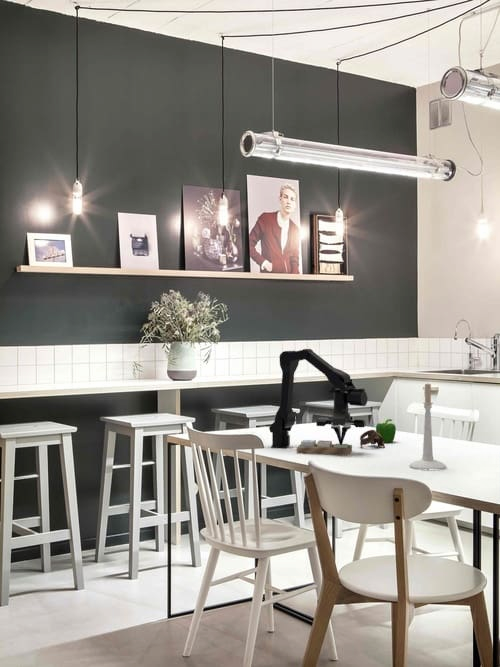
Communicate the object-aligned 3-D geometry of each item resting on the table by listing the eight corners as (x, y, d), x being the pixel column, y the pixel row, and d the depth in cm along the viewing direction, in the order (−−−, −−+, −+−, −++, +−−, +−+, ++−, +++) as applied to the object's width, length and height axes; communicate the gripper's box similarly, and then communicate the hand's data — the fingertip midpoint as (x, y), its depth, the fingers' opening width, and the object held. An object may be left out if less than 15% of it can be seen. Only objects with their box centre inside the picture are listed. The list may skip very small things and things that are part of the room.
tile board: (296, 453, 337) (296, 447, 337) (302, 449, 348) (302, 443, 348) (347, 455, 332) (347, 449, 332) (351, 450, 343) (351, 444, 343)
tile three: (333, 451, 337) (333, 445, 337) (335, 449, 341) (335, 443, 341) (346, 451, 335) (346, 445, 335) (348, 449, 340) (348, 443, 340)
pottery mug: (387, 450, 348) (378, 433, 346) (366, 460, 349) (357, 443, 348) (384, 438, 359) (376, 422, 357) (364, 448, 361) (355, 432, 359)
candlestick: (428, 463, 314) (428, 380, 313) (454, 468, 303) (454, 383, 302) (401, 466, 307) (401, 382, 306) (427, 471, 296) (427, 384, 296)
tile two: (317, 448, 338) (317, 441, 338) (319, 446, 343) (319, 440, 343) (330, 448, 337) (330, 442, 337) (331, 446, 342) (331, 440, 342)
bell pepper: (373, 443, 365) (373, 419, 364) (378, 440, 372) (378, 417, 372) (393, 444, 362) (393, 420, 361) (397, 441, 369) (397, 418, 369)
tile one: (301, 447, 340) (301, 441, 340) (303, 445, 345) (303, 439, 345) (313, 448, 338) (313, 441, 338) (315, 446, 343) (315, 440, 343)
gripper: (314, 406, 333) (314, 446, 333) (362, 407, 328) (362, 448, 328) (318, 403, 343) (318, 442, 344) (365, 404, 339) (365, 444, 339)
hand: (341, 444), depth 338 cm, fingers closed, pressing on tile three
